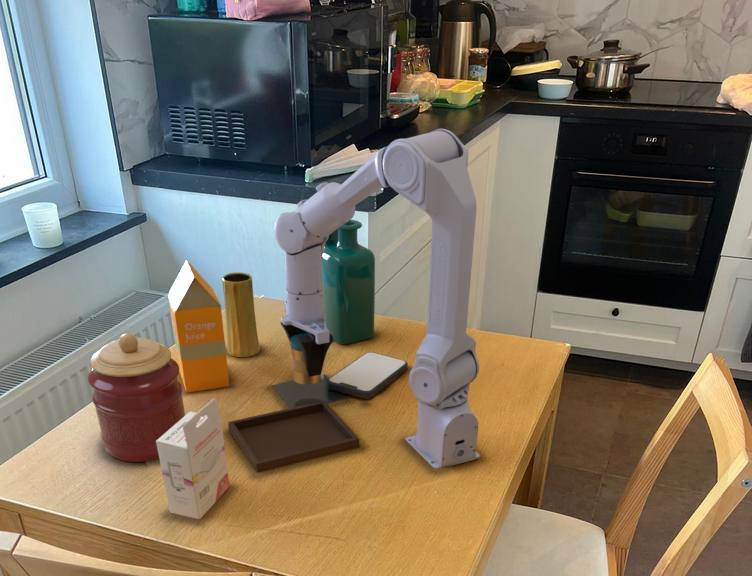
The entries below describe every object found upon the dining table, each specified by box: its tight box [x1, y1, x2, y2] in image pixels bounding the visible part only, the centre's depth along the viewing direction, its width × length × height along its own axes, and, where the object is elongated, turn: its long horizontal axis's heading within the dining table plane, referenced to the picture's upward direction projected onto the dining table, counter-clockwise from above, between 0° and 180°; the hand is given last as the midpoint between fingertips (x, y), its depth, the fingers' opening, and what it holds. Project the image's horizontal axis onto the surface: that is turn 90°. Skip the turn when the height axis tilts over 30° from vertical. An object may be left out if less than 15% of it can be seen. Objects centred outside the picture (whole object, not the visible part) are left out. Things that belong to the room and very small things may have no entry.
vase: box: [221, 271, 261, 358], centre depth 142 cm, size 6×6×14 cm
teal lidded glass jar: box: [289, 333, 325, 385], centre depth 128 cm, size 5×5×7 cm
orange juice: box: [167, 259, 230, 393], centre depth 131 cm, size 8×9×20 cm
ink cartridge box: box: [156, 397, 230, 520], centre depth 102 cm, size 9×5×15 cm, turn 160°
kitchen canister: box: [87, 333, 186, 463], centre depth 114 cm, size 13×13×18 cm
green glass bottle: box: [322, 219, 376, 345], centre depth 147 cm, size 10×8×22 cm
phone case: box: [327, 351, 409, 400], centre depth 136 cm, size 9×2×16 cm
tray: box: [227, 401, 360, 473], centre depth 119 cm, size 13×16×2 cm
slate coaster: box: [271, 373, 348, 409], centre depth 132 cm, size 10×10×1 cm
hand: (307, 367), depth 129 cm, fingers closed on teal lidded glass jar, 5 cm apart
